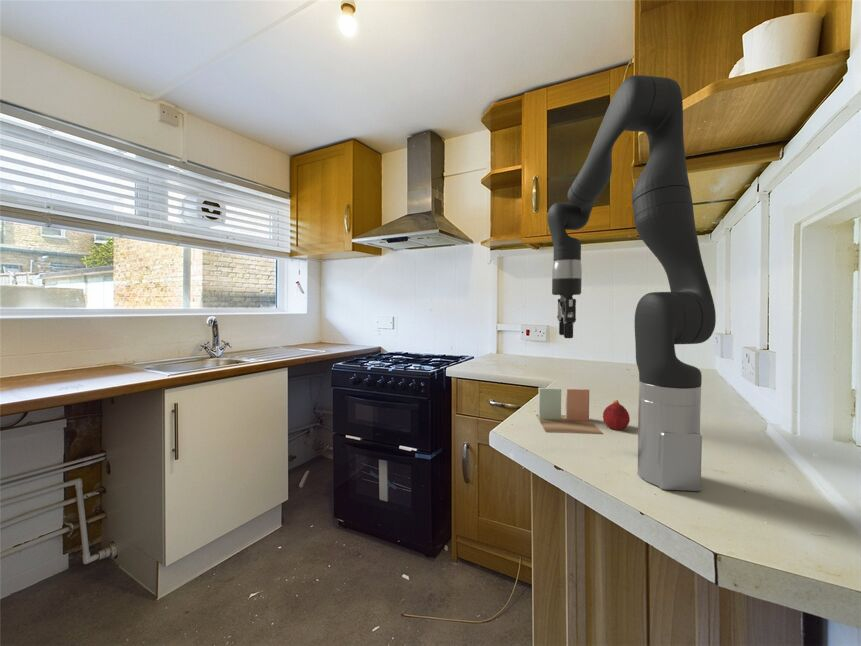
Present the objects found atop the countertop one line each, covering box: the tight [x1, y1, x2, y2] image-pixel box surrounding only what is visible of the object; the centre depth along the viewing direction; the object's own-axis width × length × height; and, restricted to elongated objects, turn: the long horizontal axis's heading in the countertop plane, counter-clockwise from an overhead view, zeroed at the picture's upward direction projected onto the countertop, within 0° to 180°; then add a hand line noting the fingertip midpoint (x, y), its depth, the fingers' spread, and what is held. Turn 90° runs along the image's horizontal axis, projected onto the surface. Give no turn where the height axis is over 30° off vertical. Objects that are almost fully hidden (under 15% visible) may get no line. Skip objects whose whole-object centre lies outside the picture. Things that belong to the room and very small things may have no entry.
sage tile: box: [537, 387, 562, 420], centre depth 97 cm, size 2×6×8 cm, turn 83°
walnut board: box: [535, 414, 604, 435], centre depth 93 cm, size 14×13×1 cm
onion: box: [602, 399, 631, 431], centre depth 89 cm, size 6×6×8 cm
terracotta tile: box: [565, 387, 590, 420], centre depth 96 cm, size 2×6×8 cm, turn 83°
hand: (565, 336), depth 101 cm, fingers open, 8 cm apart
